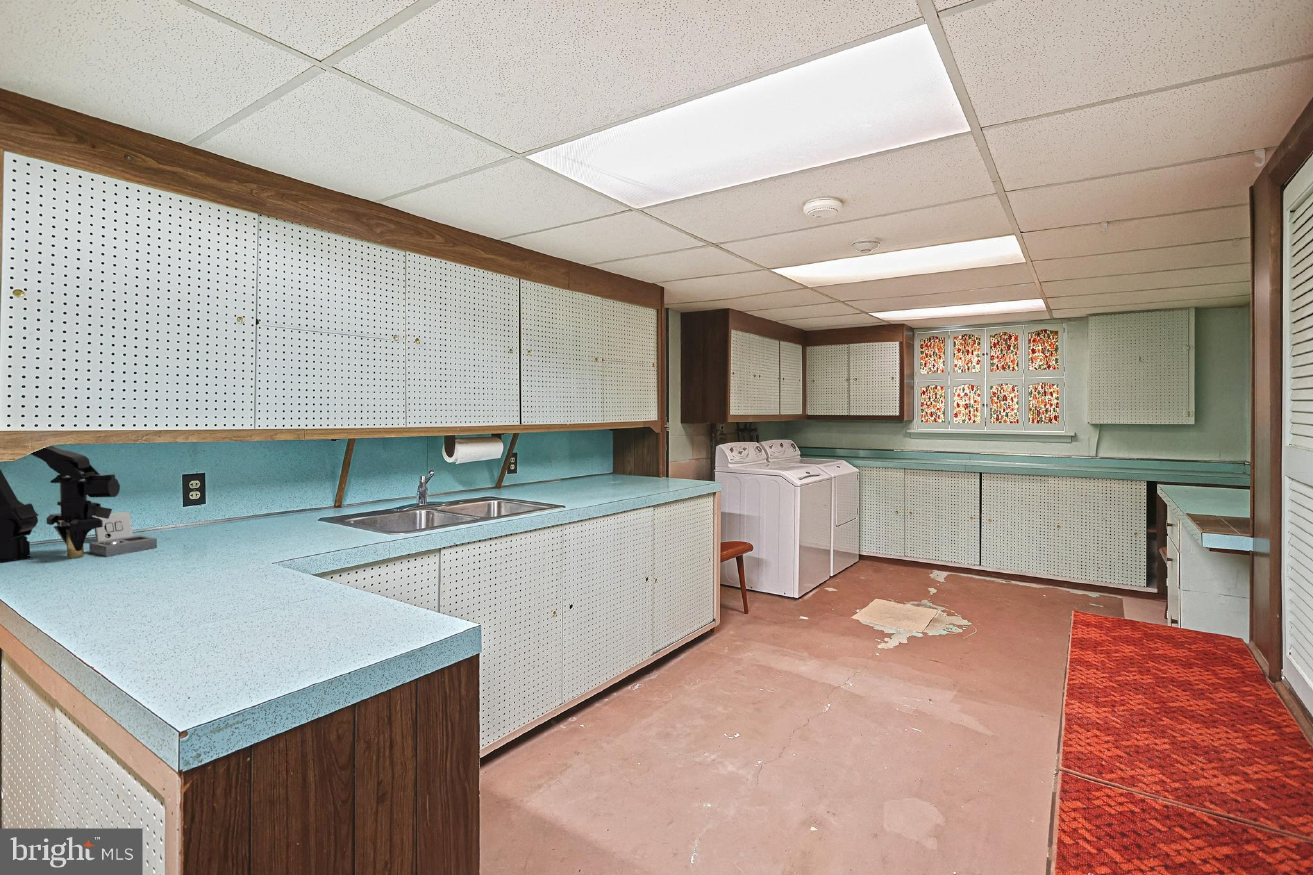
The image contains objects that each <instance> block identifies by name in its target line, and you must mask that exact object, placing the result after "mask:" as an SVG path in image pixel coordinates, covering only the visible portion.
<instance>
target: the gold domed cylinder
mask: <svg viewBox="0 0 1313 875" xmlns="http://www.w3.org/2000/svg"><path fill="white" fill-rule="evenodd" d="M66 536H67V545H66V558H67V559H77V558H83V557H85V554H84V553H85V551H84V550H85V548H84V546H85V544H83V547H82V549H81V551H76V550H75V548H74V546H73V544H72V542H71V540H70V538H69V536H68V534H66Z"/></svg>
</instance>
